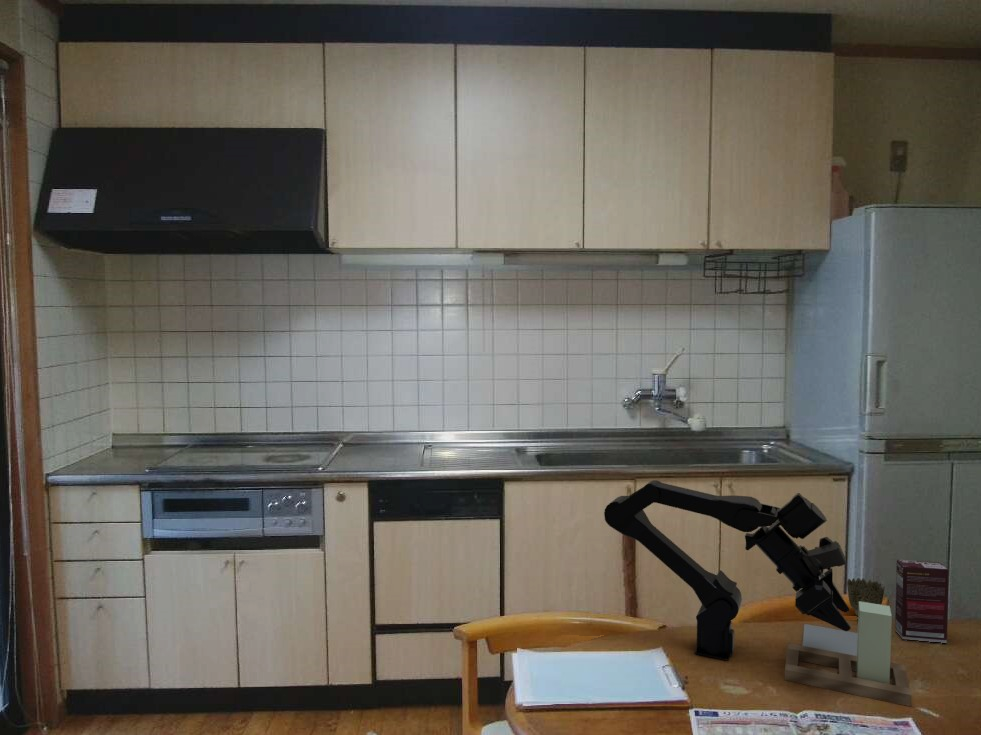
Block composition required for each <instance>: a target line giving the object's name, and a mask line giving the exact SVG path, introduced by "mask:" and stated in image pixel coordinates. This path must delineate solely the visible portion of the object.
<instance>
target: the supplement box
mask: <svg viewBox="0 0 981 735" xmlns="http://www.w3.org/2000/svg"><path fill="white" fill-rule="evenodd" d="M949 570H950V569H949V568H948V567H946V566H945V565H944V564H942V563H941V562H938V561H926V560H924V561H923V560H911V559H909V560H908V559H896V575H895V576H896V579H895V612H894V613H895V616H894V617H895V618H894V619H895V620H894V621H895V622H894V632H895V631H896V632H897V633H898V634H899V635H900V636H901V637H902V639H910V640H919V641H929V642H928V643H930V642H941V643H940V644H942V643H948V622H949V621H948V620H949V575H950V574H949V572H950V571H949ZM896 632H895V633H896ZM897 633H896V634H897ZM898 634H897V635H898ZM899 635H898V636H899ZM900 636H899V637H900ZM902 639H901V640H902ZM919 641H918V642H919Z"/></svg>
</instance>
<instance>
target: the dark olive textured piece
mask: <svg viewBox="0 0 981 735" xmlns="http://www.w3.org/2000/svg"><path fill="white" fill-rule="evenodd" d="M846 585H847V586H846V587H847V594H848V595H847V596H848V601H849V604H850V607H851V608H852V609H853V610H854V611H855V613H854V614H855V616H856V618H858V610H859V601H860V602H867V603H873V604H880V605H883V601H884V595H885V589H886V586H885V585H884V586H883V587H882V583H881V582H880V583H879V581H878V580H875V581H872V580H871V579H868V581H867V580H866V579H865V578H862V579H860V578H859V577H857V578H856V580H855V577H853V578H852V579H850V578H848V579H847V580H846Z"/></svg>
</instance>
